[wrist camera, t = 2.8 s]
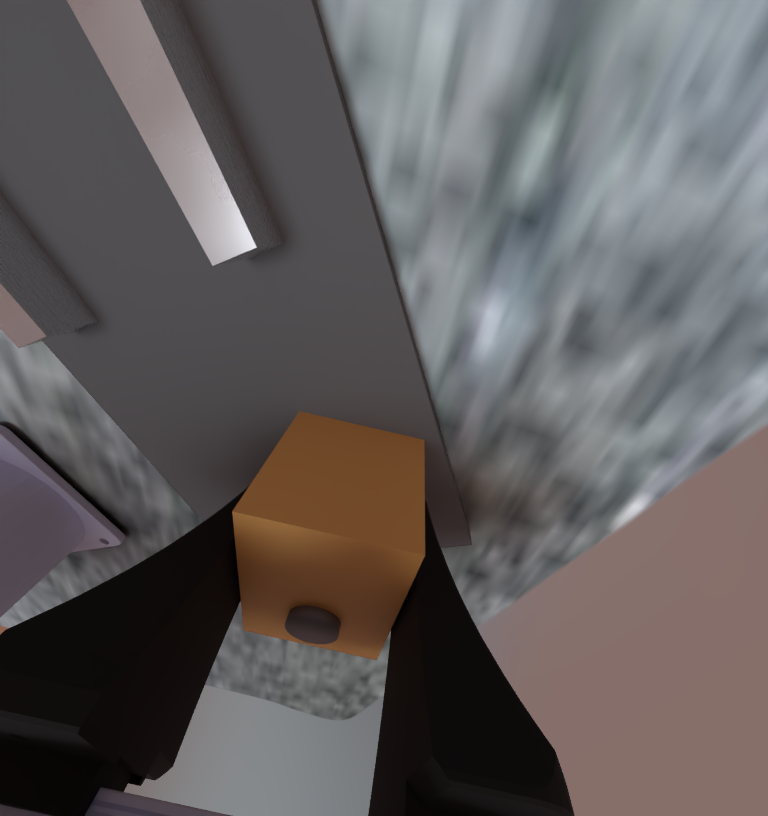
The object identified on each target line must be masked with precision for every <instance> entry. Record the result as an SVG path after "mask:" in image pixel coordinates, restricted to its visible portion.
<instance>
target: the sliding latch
mask: <svg viewBox="0 0 768 816" xmlns="http://www.w3.org/2000/svg"><path fill="white" fill-rule="evenodd" d="M67 2H68V3H69V5H70V7H71V9H72V11H73V12H74V14H75V16H76V18H77V20H78V22H79V23H80V25H81V27H82V29H83V31H84V33H85V34H86V36H87V38H88V40H89V42H90V43H91V45H92V47H93V49H94V51H95V53H96V54H97V56H98V58H99V60H100V62H101V63H102V65H103V67H104V69H105V71H106V73H107V74H108V76H109V78H110V80H111V82H112V84H113V85H114V87H115V89H116V91H117V93H118V94H119V96H120V98H121V100H122V102H123V104H124V105H125V107H126V109H127V111H128V113H129V115H130V116H131V118H132V120H133V122H134V124H135V125H136V127H137V129H138V131H139V133H140V135H141V136H142V138H143V140H144V142H145V144H146V145H147V147H148V149H149V151H150V153H151V155H152V156H153V158H154V160H155V162H156V164H157V166H158V167H159V169H160V171H161V173H162V175H163V176H164V178H165V180H166V182H167V184H168V186H169V187H170V189H171V191H172V193H173V195H174V196H175V198H176V200H177V202H178V204H179V206H180V207H181V209H182V211H183V213H184V215H185V217H186V218H187V220H188V222H189V224H190V226H191V227H192V229H193V231H194V233H195V235H196V237H197V238H198V240H199V242H200V244H201V246H202V248H203V249H204V251H205V253H206V255H207V257H208V258H209V260H210V262H211V264H212V266H216V265H221V264H226V263H232V262H237V261H242V260H248V259H250V258H252V257H255V256H257V255H260V254H262V253H264V252H267V251H269V250H272V249H274V248H277V247H279V246H281V245H284V244H285V242H284V240H283V237H282V235H281V233H280V230H279V228H278V226H277V223H276V221H275V219H274V216H273V214H272V212H271V209H270V207H269V205H268V202H267V200H266V198H265V195H264V193H263V191H262V189H261V186H260V184H259V182H258V179H257V177H256V175H255V172H254V170H253V168H252V165H251V163H250V161H249V158H248V156H247V154H246V151H245V149H244V147H243V144H242V142H241V140H240V137H239V135H238V133H237V131H236V128H235V126H234V124H233V121H232V119H231V117H230V114H229V112H228V110H227V107H226V105H225V103H224V100H223V98H222V96H221V93H220V91H219V89H218V86H217V84H216V82H215V79H214V77H213V75H212V72H211V70H210V68H209V66H208V63H207V61H206V59H205V56H204V54H203V52H202V49H201V47H200V45H199V42H198V40H197V38H196V35H195V33H194V31H193V28H192V26H191V24H190V21H189V19H188V17H187V14H186V12H185V10H184V7H183V5H182V3H181V1H180V0H67ZM98 321H99V319H98V318H97V317H96V315H95V314H94V313H93V312H92V310H91V309H90V308H89V306H88V305H87V304H86V302H85V301H84V300H83V299H82V297H81V296H80V295H79V293H78V292H77V291H76V290H75V288H74V287H73V286H72V284H71V283H70V282H69V280H68V279H67V278H66V277H65V275H64V274H63V273H62V271H61V270H60V269H59V268H58V266H57V265H56V264H55V262H54V261H53V260H52V258H51V257H50V256H49V255H48V253H47V252H46V251H45V249H44V248H43V247H42V245H41V244H40V243H39V242H38V240H37V239H36V238H35V236H34V235H33V234H32V233H31V231H30V230H29V229H28V227H27V226H26V225H25V223H24V222H23V221H22V220H21V218H20V217H19V216H18V214H17V213H16V212H15V210H14V209H13V208H12V207H11V205H10V204H9V203H8V201H7V200H6V199H5V198H4V196H3V195H2V194H1V192H0V328H1V330H2V331H3V332H4V333H5V334H6V335H7V336H8V337H9V338H10V339H11V340H12V341H13V342H14V343H15V344H16V346H17V347H18V348H21V347H24V346H27V345H31V344H34V343H37V342H41V341H44V340H47V339H51V338H54V337H57V336H61V335H64V334H67V333H71V332H74V331H76V330H79V329H81V328H84V327H86V326H88V325H91V324H93V323H96V322H98Z"/></svg>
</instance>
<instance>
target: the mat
mask: <svg viewBox="0 0 768 816" xmlns="http://www.w3.org/2000/svg"><path fill="white" fill-rule="evenodd" d="M180 1H181V3H182V5H183V7H184V10H185V12H186V14H187V17H188V19H189V21H190V24H191V26H192V28H193V31H194V33H195V35H196V38H197V40H198V42H199V45H200V47H201V49H202V52H203V54H204V56H205V59H206V61H207V63H208V66H209V68H210V70H211V72H212V75H213V77H214V79H215V82H216V84H217V86H218V89H219V91H220V93H221V96H222V98H223V100H224V103H225V105H226V107H227V110H228V112H229V114H230V117H231V119H232V121H233V124H234V126H235V128H236V131H237V133H238V135H239V137H240V140H241V142H242V144H243V147H244V149H245V151H246V154H247V156H248V158H249V161H250V163H251V165H252V168H253V170H254V172H255V175H256V177H257V179H258V182H259V184H260V186H261V189H262V191H263V193H264V195H265V198H266V200H267V202H268V205H269V207H270V209H271V212H272V214H273V216H274V219H275V221H276V223H277V226H278V228H279V230H280V233H281V235H282V237H283V240H284V242H285V244H284V245H281V246H279V247H277V248H274V249H272V250H269V251H267V252H264V253H262V254H260V255H257V256H255V257H252V258H250V259H248V260H242V261H237V262H232V263H226V264H221V265H216V266H212V264H211V262H210V260H209V258H208V257H207V255H206V253H205V251H204V249H203V248H202V246H201V244H200V242H199V240H198V238H197V237H196V235H195V233H194V231H193V229H192V227H191V226H190V224H189V222H188V220H187V218H186V217H185V215H184V213H183V211H182V209H181V207H180V206H179V204H178V202H177V200H176V198H175V196H174V195H173V193H172V191H171V189H170V187H169V186H168V184H167V182H166V180H165V178H164V176H163V175H162V173H161V171H160V169H159V167H158V166H157V164H156V162H155V160H154V158H153V156H152V155H151V153H150V151H149V149H148V147H147V145H146V144H145V142H144V140H143V138H142V136H141V135H140V133H139V131H138V129H137V127H136V125H135V124H134V122H133V120H132V118H131V116H130V115H129V113H128V111H127V109H126V107H125V105H124V104H123V102H122V100H121V98H120V96H119V94H118V93H117V91H116V89H115V87H114V85H113V84H112V82H111V80H110V78H109V76H108V74H107V73H106V71H105V69H104V67H103V65H102V63H101V62H100V60H99V58H98V56H97V54H96V53H95V51H94V49H93V47H92V45H91V43H90V42H89V40H88V38H87V36H86V34H85V33H84V31H83V29H82V27H81V25H80V23H79V22H78V20H77V18H76V16H75V14H74V12H73V11H72V9H71V7H70V5H69V3H68V2H67V0H0V192H1V194H2V195H3V196H4V198H5V199H6V200H7V201H8V203H9V204H10V205H11V207H12V208H13V209H14V210H15V212H16V213H17V214H18V216H19V217H20V218H21V220H22V221H23V222H24V223H25V225H26V226H27V227H28V229H29V230H30V231H31V233H32V234H33V235H34V236H35V238H36V239H37V240H38V242H39V243H40V244H41V245H42V247H43V248H44V249H45V251H46V252H47V253H48V255H49V256H50V257H51V258H52V260H53V261H54V262H55V264H56V265H57V266H58V268H59V269H60V270H61V271H62V273H63V274H64V275H65V277H66V278H67V279H68V280H69V282H70V283H71V284H72V286H73V287H74V288H75V290H76V291H77V292H78V293H79V295H80V296H81V297H82V299H83V300H84V301H85V302H86V304H87V305H88V306H89V308H90V309H91V310H92V312H93V313H94V314H95V315H96V317H97V318H98V319H99V321H98V322H96V323H93V324H91V325H88V326H86V327H84V328H81V329H79V330H76V331H74V332H71V333H67V334H64V335H61V336H57V337H54V338H51V339H47V340H44V341H43V342H44V343H45V344H46V345H47V346H48V348H49V349H50V350H51V351H52V352H53V353H54V354H55V355H56V357H57V358H58V359H59V360H60V361H61V362H62V363H63V364H64V366H65V367H66V368H67V369H68V370H69V371H70V372H71V373H72V375H73V376H74V377H75V378H76V379H77V380H78V381H79V382H80V384H81V385H82V386H83V387H84V388H85V389H86V390H87V391H88V393H89V394H90V395H91V396H92V397H93V398H94V399H95V400H96V402H97V403H98V404H99V405H100V406H101V407H102V408H103V409H104V411H105V412H106V413H107V414H108V415H109V416H110V417H111V418H112V420H113V421H114V422H115V423H116V424H117V425H118V426H119V427H120V429H121V430H122V431H123V432H124V433H125V434H126V435H127V436H128V438H129V439H130V440H131V441H132V442H133V443H134V444H135V445H136V447H137V448H138V449H139V450H140V451H141V452H142V453H143V454H144V456H145V457H146V458H147V459H148V460H149V461H150V462H151V464H152V465H153V466H154V467H155V468H156V469H157V470H158V471H159V473H160V474H161V475H162V476H163V477H164V478H165V479H166V480H167V482H168V483H169V484H170V485H171V486H172V487H173V488H174V489H175V491H176V492H177V493H178V494H179V495H180V496H181V497H182V498H183V500H184V501H185V502H186V503H187V504H188V505H189V506H190V507H191V509H192V510H193V511H194V512H195V513H196V514H197V515H198V516H199V518H200V519H201V520H202V521H203V522H204V521H205V520H207V519H208V518H209V517H211V516H212V515H213V514H215V513H216V512H217V511H219V510H220V509H221V508H223V507H224V506H225V505H226V504H228V503H229V502H230V501H231V500H233V499H234V498H235V497H236V496H238V495H239V494H240V493H241V492H242V491H244V490H245V489H246V488H247V487H248V486H249V485H250V484H251V483H252V481H253V480H254V478H255V477H256V475H257V474H258V472H259V471H260V469H261V468H262V466H263V465H264V463H265V462H266V460H267V459H268V457H269V456H270V454H271V453H272V451H273V450H274V448H275V447H276V445H277V444H278V442H279V441H280V439H281V438H282V436H283V435H284V434H285V432H286V431H287V429H288V428H289V426H290V425H291V423H292V422H293V420H294V419H295V417H296V416H297V414H298V413H299V411H301V412H306V413H310V414H314V415H319V416H323V417H327V418H332V419H336V420H340V421H345V422H349V423H353V424H358V425H362V426H366V427H371V428H375V429H379V430H384V431H388V432H392V433H397V434H401V435H405V436H410V437H414V438H418V439H423V440H424V449H425V500H426V502H427V505H428V509H429V513H430V517H431V520H432V523H433V527H434V530H435V533H436V536H437V539H438V542H439V545H440V547H441V548H445V547H454V546H464V545H472V543H471V536H470V531H469V528H468V524H467V521H466V517H465V514H464V511H463V507H462V504H461V500H460V497H459V493H458V490H457V487H456V483H455V480H454V476H453V473H452V469H451V466H450V462H449V459H448V456H447V452H446V449H445V445H444V442H443V438H442V435H441V432H440V428H439V425H438V421H437V418H436V414H435V411H434V407H433V404H432V401H431V397H430V394H429V390H428V387H427V383H426V380H425V377H424V373H423V370H422V366H421V363H420V359H419V356H418V352H417V349H416V346H415V342H414V339H413V335H412V332H411V328H410V325H409V322H408V318H407V315H406V311H405V308H404V304H403V301H402V297H401V294H400V291H399V287H398V284H397V280H396V277H395V273H394V270H393V267H392V263H391V260H390V256H389V253H388V249H387V246H386V243H385V239H384V236H383V232H382V229H381V225H380V222H379V218H378V215H377V212H376V208H375V205H374V201H373V198H372V194H371V191H370V188H369V184H368V181H367V177H366V174H365V170H364V167H363V163H362V160H361V157H360V153H359V150H358V146H357V143H356V139H355V136H354V133H353V129H352V126H351V122H350V119H349V115H348V112H347V108H346V105H345V102H344V98H343V95H342V91H341V88H340V84H339V81H338V78H337V74H336V71H335V67H334V64H333V60H332V57H331V53H330V50H329V47H328V43H327V40H326V36H325V33H324V29H323V26H322V23H321V19H320V16H319V12H318V9H317V5H316V2H315V0H180Z"/></svg>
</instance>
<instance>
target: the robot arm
mask: <svg viewBox="0 0 768 816" xmlns="http://www.w3.org/2000/svg"><path fill="white" fill-rule="evenodd" d="M249 486H250V485H249ZM249 486H248V487H249ZM248 487H247V488H246V489H245V490H244V491H242V492H241V493H240V494H239V495H238V496H236V497H235V498H234V499H233V500H231V501H230V502H229V503H228V504H226V505H225V506H224V507H223V508H221V509H220V510H219V511H217V512H216V513H215V514H213V515H212V516H211V517H209V518H208V519H207V520H205V521H204V522H203V523H201V524H200V525H198V526H197V527H196V528H194V529H193V530H191V531H190V532H188V533H187V534H185V535H184V536H182V537H181V538H179V539H178V540H176V541H175V542H173V543H172V544H170V545H169V546H167V547H165V548H164V549H162V550H160V551H159V552H157V553H155V554H154V555H152V556H151V557H149V558H147V559H146V560H144V561H142V562H141V563H139V564H137V565H135V566H134V567H132V568H130V569H128V570H126V571H125V572H123V573H121V574H119V575H117V576H115V577H113V578H111V579H110V580H108V581H106V582H104V583H102V584H100V585H98V586H96V587H94V588H92V589H91V590H89V591H87V592H85V593H83V594H81V595H79V596H77V597H75V598H73V599H71V600H69V601H67V602H65V603H63V604H60V605H58V606H56V607H54V608H52V609H50V610H48V611H45V612H43V613H41V614H39V615H37V616H35V617H33V618H31V619H28V620H26V621H24V622H22V623H20V624H18V625H15V626H13V627H11V628H9V629H7V630H5V631H4V632H3V633H2V634H1V635H0V816H230V815H226V814H221V813H216V812H212V811H208V810H203V809H198V808H194V807H189V806H185V805H180V804H175V803H171V802H166V801H161V800H157V799H153V798H148V797H143V796H139V795H134V794H130V793H125V792H124V790H125V788H126V786H127V784H128V783H129V784H135V785H139V786H141V785H142V783H143V781H144V780H145V778H146V779H151V780H156V779H158V778H160V777H161V776H162V775H163V774H165V773H166V772H167V771H168V770H169V769H170V768H171V767H173V764H174V762H175V759H176V757H177V754H178V751H179V749H180V746H181V743H182V741H183V738H184V736H185V733H186V731H187V728H188V726H189V723H190V720H191V718H192V715H193V713H194V710H195V707H196V705H197V702H198V700H199V698H200V695H201V693H202V690H203V688H204V685H205V683H206V680H207V678H208V675H209V673H210V670H211V668H212V665H213V663H214V661H215V658H216V656H217V654H218V651H219V649H220V646H221V644H222V642H223V639H224V637H225V635H226V632H227V630H228V628H229V625H230V623H231V621H232V618H233V616H234V614H235V612H236V609H237V607H238V605H239V603H240V601H241V597H240V587H239V576H238V566H237V556H236V545H235V535H234V525H233V514H232V511H233V510H234V508H235V507H236V505H237V504H238V502H239V501H240V499H241V498H242V496H243V495H244V493H245V492H246V490H247V489H248ZM125 539H126V537H125V535H124V534H123V533H122V532H121V531H120V530H119V529H118V528H117V527H116V526H115V525H114V524H113V523H111V522H110V521H109V520H108V519H107V518H106V517H105V516H104V515H103V514H102V513H100V512H99V511H98V510H97V509H96V508H95V507H94V506H93V505H92V504H91V503H89V502H88V501H87V500H86V499H85V498H84V497H83V496H82V495H81V494H80V493H78V492H77V491H76V490H75V489H74V488H73V487H72V486H71V485H70V484H69V483H67V482H66V481H65V480H64V479H63V478H62V477H61V476H60V475H59V474H58V473H57V472H55V471H54V470H53V469H52V468H51V467H50V466H49V465H48V464H47V463H46V462H44V461H43V460H42V459H41V458H40V457H39V456H38V455H37V454H36V453H35V452H33V451H32V450H31V449H30V448H29V447H28V446H27V445H26V444H25V443H24V442H22V441H21V440H20V439H19V438H18V437H17V436H16V435H15V434H14V433H13V432H11V431H10V430H9V429H8V428H6V427H4V426H2V425H0V617H1V616H2V615H3V614H4V613H6V612H7V611H8V610H9V609H10V608H11V607H12V606H13V605H14V604H15V603H16V602H17V601H19V600H20V599H21V598H22V597H23V596H24V595H25V594H26V593H27V592H28V591H29V590H30V589H32V588H33V587H34V586H35V585H36V584H37V583H38V582H39V581H40V580H41V579H42V578H43V577H45V576H46V575H47V574H48V573H49V572H50V571H51V570H52V569H53V568H54V567H55V566H56V565H57V564H59V563H60V562H61V561H62V560H63V559H64V558H65V557H66V556H67V555H68V554H69V553H71V552H78V551H84V550H91V549H98V548H105V547H112V546H118V545H120V544H121V543H122V542H123V541H124V540H125ZM368 816H574V812H573V808H572V805H571V800H570V796H569V792H568V789H567V785H566V782H565V779H564V775H563V773H562V769H561V767H560V764H559V761H558V758H557V755H556V752H555V750H554V749H553V747H552V746H551V744H550V743H549V741H548V740H547V739H546V737H545V736H544V735H543V733H542V732H541V730H540V729H539V727H538V726H537V724H536V723H535V721H534V720H533V719H532V717H531V716H530V714H529V713H528V711H527V710H526V708H525V707H524V705H523V704H522V702H521V701H520V699H519V698H518V696H517V695H516V693H515V691H514V690H513V688H512V687H511V685H510V684H509V682H508V680H507V679H506V677H505V676H504V674H503V673H502V671H501V669H500V668H499V666H498V664H497V662H496V661H495V659H494V657H493V656H492V654H491V652H490V650H489V649H488V647H487V645H486V644H485V642H484V640H483V639H482V637H481V635H480V633H479V631H478V629H477V627H476V626H475V624H474V622H473V620H472V618H471V616H470V614H469V612H468V610H467V608H466V606H465V604H464V602H463V600H462V598H461V596H460V594H459V591H458V589H457V587H456V585H455V582H454V580H453V578H452V575H451V573H450V571H449V568H448V566H447V563H446V561H445V558H444V555H443V553H442V550H441V547H440V545H439V542H438V539H437V536H436V533H435V530H434V527H433V523H432V520H431V517H430V513H429V509H428V505H427V502H426V500H425V557H424V559H423V561H422V563H421V565H420V568H419V570H418V572H417V574H416V576H415V578H414V581H413V583H412V585H411V587H410V589H409V591H408V594H407V596H406V598H405V600H404V602H403V604H402V606H401V609H400V611H399V613H398V615H397V617H396V619H395V622H394V624H393V626H392V628H391V639H390V648H389V657H388V667H387V676H386V684H385V693H384V701H383V710H382V718H381V726H380V734H379V742H378V749H377V757H376V764H375V771H374V778H373V786H372V794H371V800H370V808H369V814H368Z"/></svg>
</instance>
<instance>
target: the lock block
mask: <svg viewBox="0 0 768 816" xmlns="http://www.w3.org/2000/svg"><path fill="white" fill-rule="evenodd" d="M232 514H233V525H234V535H235V545H236V556H237V566H238V576H239V587H240V597H241V607H242V618H243V628H244V631H249V632H253V633H258V634H262V635H267V636H271V637H276V638H280V639H285V640H289V641H294V642H298V643H303V644H307V645H312V646H316V647H320V648H325V649H329V650H334V651H338V652H343V653H347V654H352V655H356V656H361V657H365V658H370V659H374V660H377V658H378V656H379V654H380V652H381V650H382V648H383V645H384V643H385V641H386V639H387V637H388V635H389V632H390V630H391V628H392V626H393V624H394V622H395V619H396V617H397V615H398V613H399V611H400V609H401V606H402V604H403V602H404V600H405V598H406V596H407V594H408V591H409V589H410V587H411V585H412V583H413V581H414V578H415V576H416V574H417V572H418V570H419V568H420V565H421V563H422V561H423V559H424V557H425V449H424V440H423V439H418V438H414V437H410V436H405V435H401V434H397V433H392V432H388V431H384V430H379V429H375V428H371V427H366V426H362V425H358V424H353V423H349V422H345V421H340V420H336V419H332V418H327V417H323V416H319V415H314V414H310V413H306V412H301V411H299V413H298V414H297V416H296V417H295V419H294V420H293V422H292V423H291V425H290V426H289V428H288V429H287V431H286V432H285V434H284V435H283V436H282V438H281V439H280V441H279V442H278V444H277V445H276V447H275V448H274V450H273V451H272V453H271V454H270V456H269V457H268V459H267V460H266V462H265V463H264V465H263V466H262V468H261V469H260V471H259V472H258V474H257V475H256V477H255V478H254V480H253V481H252V483H251V484H250V486H249V487H248V489H247V490H246V492H245V493H244V495H243V496H242V498H241V499H240V501H239V502H238V504H237V505H236V507H235V508H234V510H233V511H232Z"/></svg>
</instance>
